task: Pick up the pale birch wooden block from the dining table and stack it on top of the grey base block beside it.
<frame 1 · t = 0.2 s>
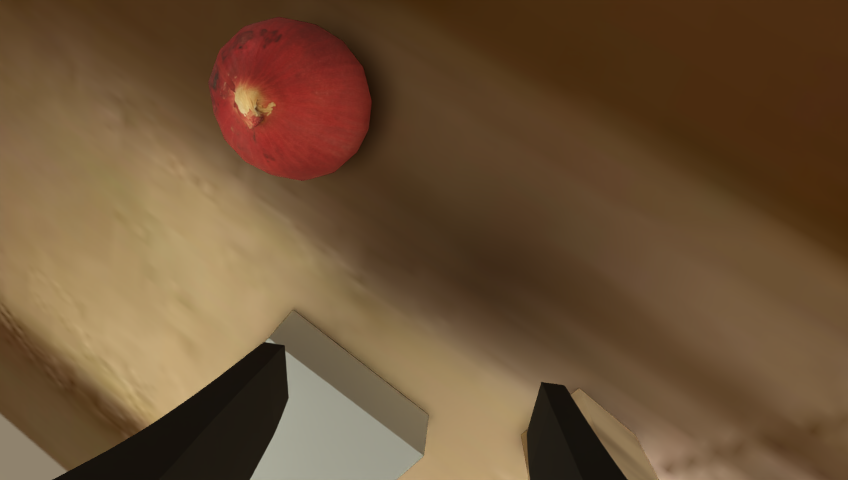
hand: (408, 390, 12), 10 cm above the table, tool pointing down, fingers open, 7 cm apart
onion: (327, 104, 20), on the table
base: (313, 415, 25), on the table
block: (577, 434, 24), on the table
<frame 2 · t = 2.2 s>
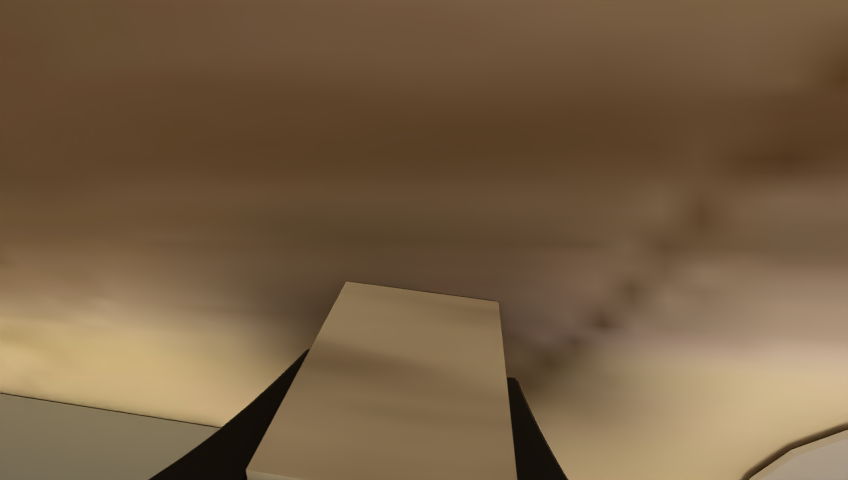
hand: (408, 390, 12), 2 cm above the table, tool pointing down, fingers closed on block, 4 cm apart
block: (415, 351, 13), on the table, touching gripper
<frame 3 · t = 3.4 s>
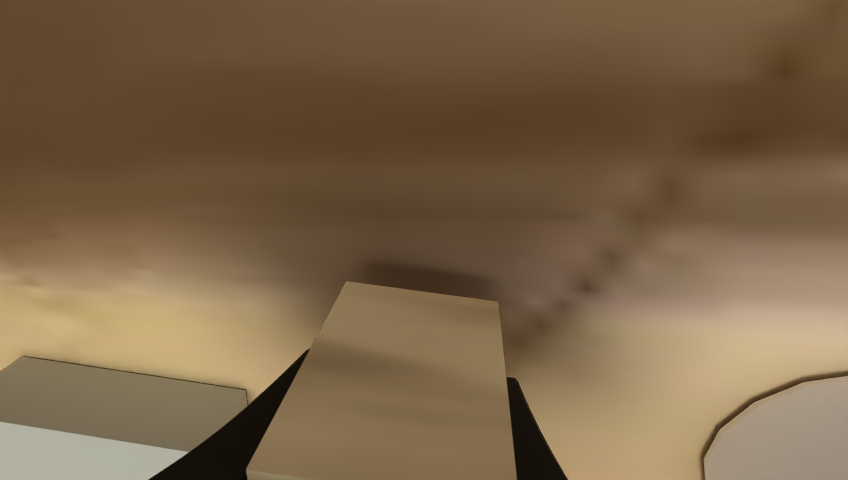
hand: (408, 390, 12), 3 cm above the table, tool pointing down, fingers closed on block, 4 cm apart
soap bottle: (827, 454, 16), on the table
base: (155, 451, 20), on the table
block: (415, 351, 13), point 2 cm above the table, touching gripper
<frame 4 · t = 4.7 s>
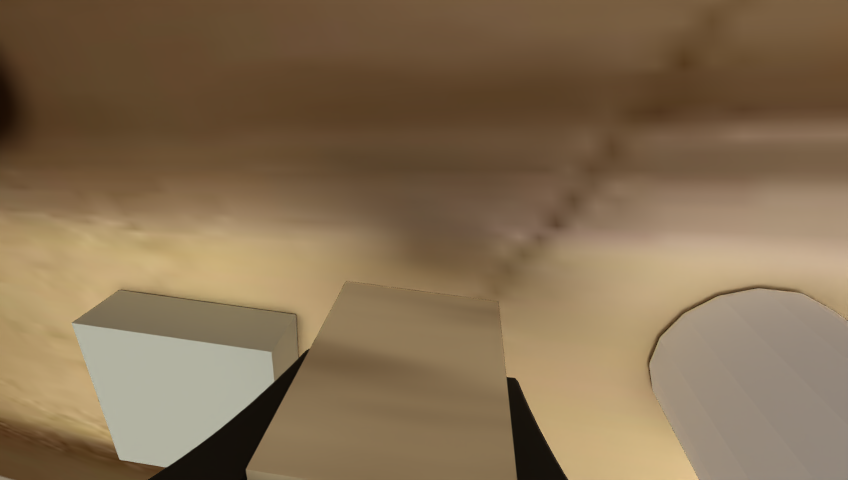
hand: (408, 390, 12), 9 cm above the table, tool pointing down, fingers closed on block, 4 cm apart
soap bottle: (743, 358, 21), on the table
base: (218, 371, 25), on the table
block: (415, 351, 13), point 7 cm above the table, touching gripper
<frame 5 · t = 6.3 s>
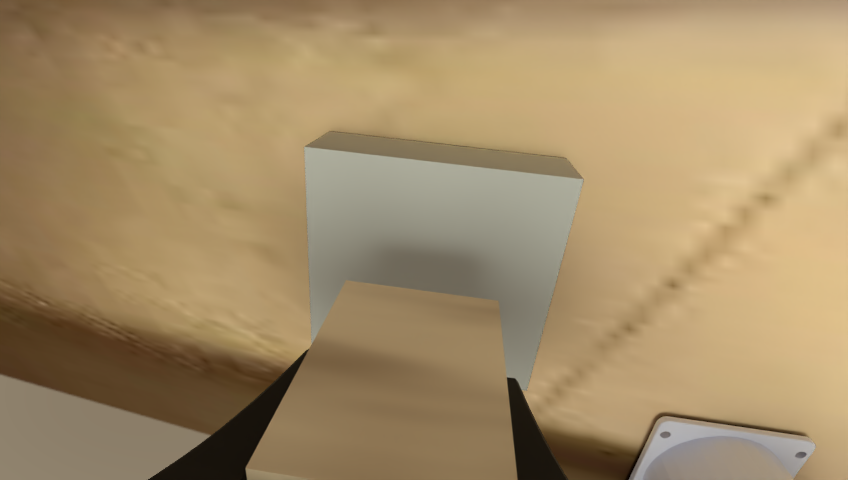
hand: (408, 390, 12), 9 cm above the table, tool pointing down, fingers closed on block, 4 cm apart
base: (434, 249, 19), on the table
block: (415, 350, 13), point 7 cm above the table, touching gripper
when the fingers open (6 cm above the table, at t = 7.3 s): block drops 1 cm, resting on base.
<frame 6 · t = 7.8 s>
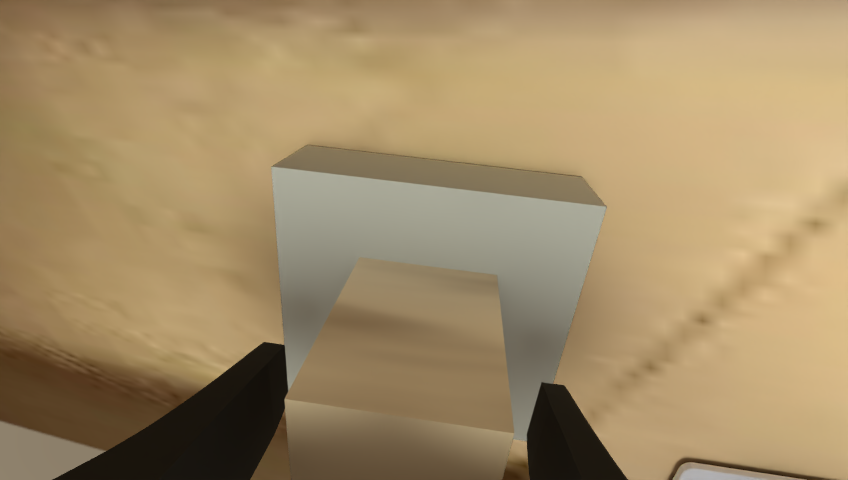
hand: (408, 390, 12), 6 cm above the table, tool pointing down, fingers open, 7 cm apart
base: (428, 278, 17), on the table
block: (421, 322, 14), point 3 cm above the table, touching base
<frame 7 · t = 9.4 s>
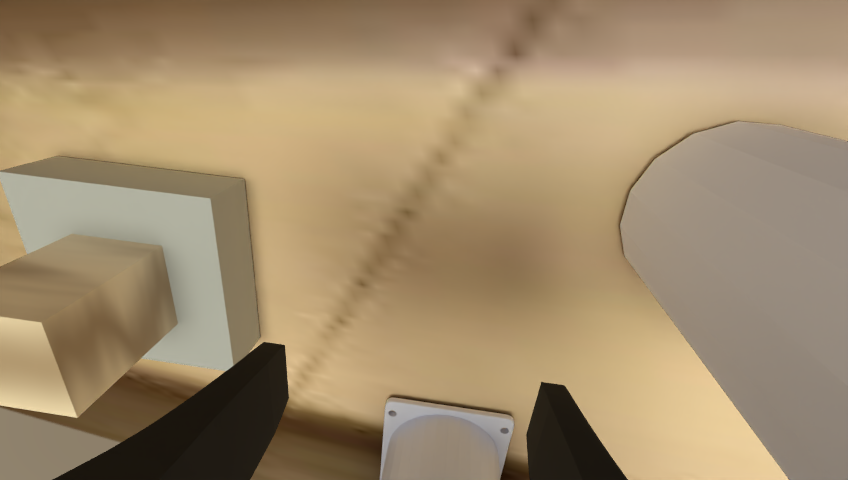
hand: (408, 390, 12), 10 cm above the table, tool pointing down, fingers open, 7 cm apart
soap bottle: (720, 215, 19), on the table
base: (167, 253, 23), on the table
block: (127, 280, 20), point 3 cm above the table, touching base
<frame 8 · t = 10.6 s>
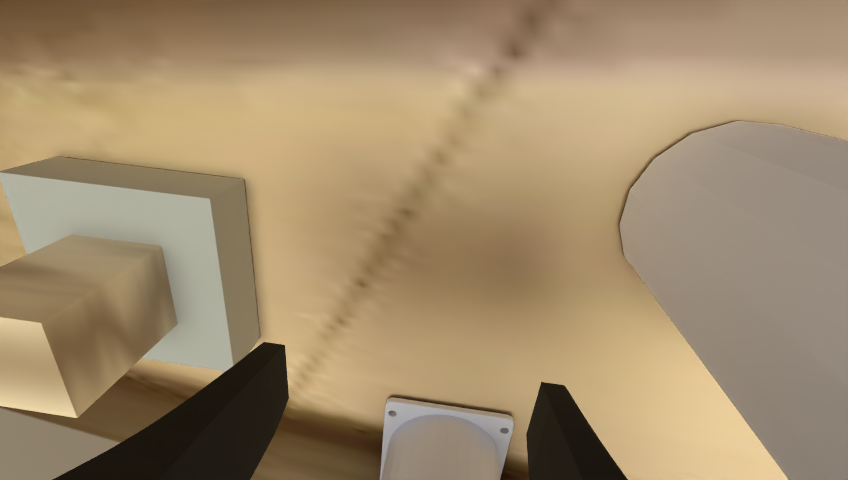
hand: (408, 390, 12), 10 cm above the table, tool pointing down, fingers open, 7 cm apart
soap bottle: (720, 215, 19), on the table
base: (166, 254, 23), on the table
block: (126, 280, 20), point 3 cm above the table, touching base
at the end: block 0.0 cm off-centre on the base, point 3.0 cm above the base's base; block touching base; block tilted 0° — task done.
